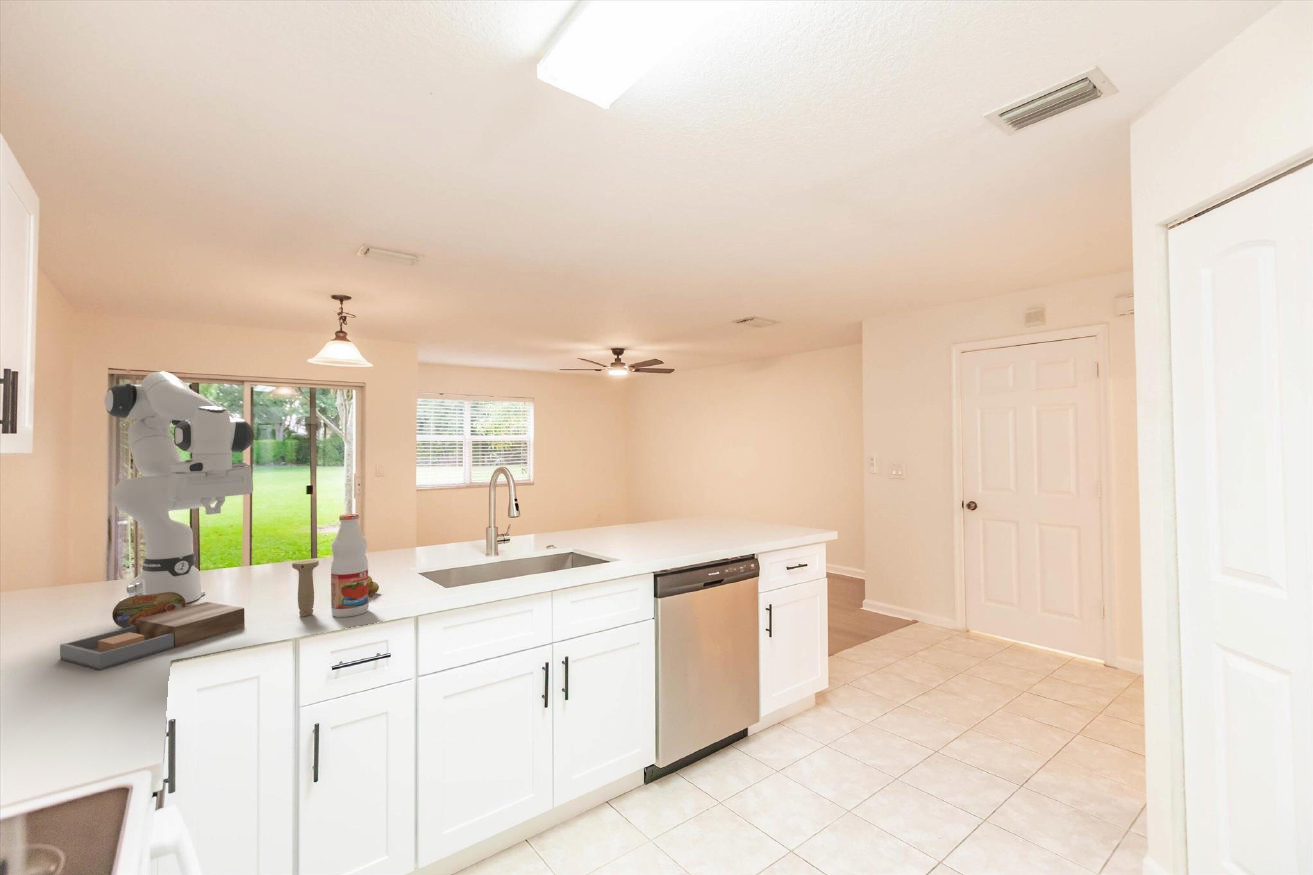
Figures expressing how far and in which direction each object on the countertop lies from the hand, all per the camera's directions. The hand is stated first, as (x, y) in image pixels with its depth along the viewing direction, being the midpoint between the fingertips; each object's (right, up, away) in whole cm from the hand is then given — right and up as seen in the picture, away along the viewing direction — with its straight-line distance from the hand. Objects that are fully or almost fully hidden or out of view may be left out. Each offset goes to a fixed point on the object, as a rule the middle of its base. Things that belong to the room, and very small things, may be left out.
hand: (213, 513), depth 161 cm
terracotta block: (-2, -26, -26) cm, 36 cm away
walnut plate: (+4, -29, -12) cm, 32 cm away
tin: (-13, -30, -5) cm, 33 cm away
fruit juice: (+36, -29, +4) cm, 47 cm away
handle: (+25, -29, +2) cm, 38 cm away
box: (-2, -29, -26) cm, 39 cm away
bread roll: (+29, -29, +20) cm, 46 cm away
